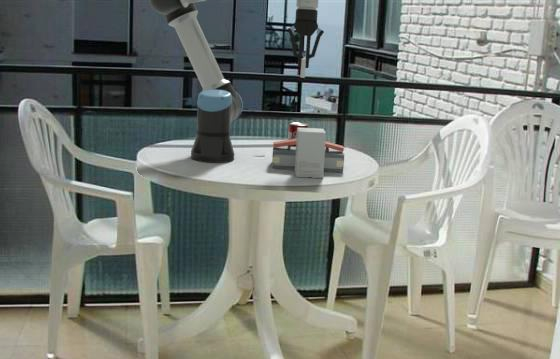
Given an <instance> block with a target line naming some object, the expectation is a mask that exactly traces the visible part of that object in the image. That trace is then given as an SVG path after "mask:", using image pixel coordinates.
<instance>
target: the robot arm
mask: <svg viewBox="0 0 560 359" xmlns="http://www.w3.org/2000/svg"><path fill="white" fill-rule="evenodd" d="M205 1H206V0H148V2H149V4H150V7H151V8H152V9H153V10H154V11H156V13H159V14H161V15H163V16H164V18H165V20H166V22H167V24H168V26H170V27H172V28H174V30H175V32H176V33H177V36H178V38H179V40H180V43H181V45H182V48H183V49H184V50H185V54H186V56H187V58H188V60H189V62H190V64H191V66H192V68H193V70H194V73H195V75H196V77H197V80H198V82H199V84H200V86H201V87H202V88H201V89H202V91H200V93H198V95H197V100H196V104H197V109H196V110H197V111H196V114H197V115H196V136H195V140H194V142H193V144H192V148H191V150H190V159H192V160H195V161H199V162H203V163H228V162H233V161H234V160H235V150H234V146H233V144H232V140H231V123H233V122H235V121H236V120H237V119H238V118H239V117H240V116H241V114H242V112H243V108H244V103H243V99H242V97H241V95H240V94H239V93H238V92H237V91H235V89H234V87H233V85H232V83H231V81H230V80H227V79H225V77H224V75H223V73H222V71H221V68H220V66H219V64H218V62H217V59H216V58H215V56H214V53H213V51H212V49H211V47H210V45H209V43H208V40H207V39H206V37H205V34H204V31H203V30H202V28H201V26H200V24H199V23H200V22H199V21H198V18H197V16H198V13H199V10H198V8H197V6H196V4H195V3H201V2H205ZM295 3H296V6H295V7H297V9H296V10H295V21H294V23H293V25H292V26H291V27H288V28H287V30H286V31H287V32H288V34H289V37H290V43H291V48H292V54H293V57H296V58H297V59H298V60H297V68H300V76H299V77H300V79H301V78H303V79H305V78H306V69H308V68H309V67H310V60H311V59H312V58H314V57H315V56H316V54H317V53H316V52H317V49H318V46H319V42H320V40H321V37H322V36H323V34H324V33H325V32H324V29H323V30H322V29H321V28H320V27H319V25H318V24H319V23H318V12H319V11H318V7H319V0H296V2H295ZM295 31H296V32H297V34H298V35H299V41H298V42H299V43H298V51H297V47H296V42H295V36H294V33H295ZM315 32H316V38H315V40H314V43H313V46H312V47H313V48H312V51H311V39H312V36H313V35H314V33H315ZM304 37H306V47H305V58H304V57H303V47H304Z"/></svg>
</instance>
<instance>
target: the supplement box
mask: <svg viewBox="0 0 560 359" xmlns="http://www.w3.org/2000/svg"><path fill="white" fill-rule="evenodd" d="M326 137H327V132H326V131H325V129H324V128H316V127H314V128H313V127H309V128H298V127H297V139H296V157H295V170H294V173H295V174H294V175H295V177H296V178H308V177H312V178H313V179H324V172H325V171H324V157H325V149H326V147H325V142H327V140H326V139H327V138H326Z"/></svg>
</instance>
